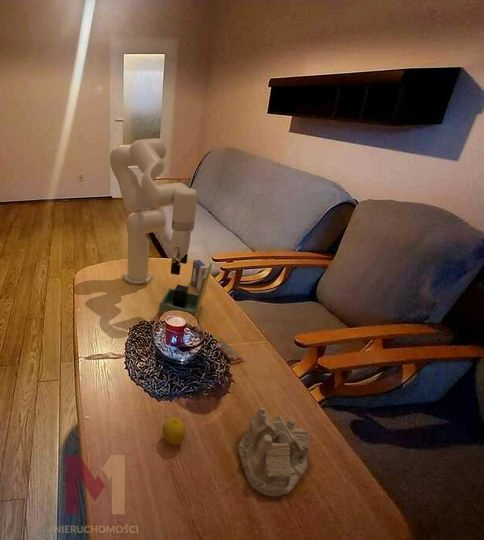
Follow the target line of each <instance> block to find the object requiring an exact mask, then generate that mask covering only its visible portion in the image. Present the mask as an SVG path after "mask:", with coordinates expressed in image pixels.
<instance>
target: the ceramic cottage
mask: <svg viewBox="0 0 484 540" xmlns="http://www.w3.org/2000/svg"><path fill="white" fill-rule="evenodd" d="M295 424H296V420H295V419H294V418H289V419H288V421H286V420H285V418H284V417H283V416H282V415H280V414H279V415H276V417H274V418H273V419H270V418H269V417H268V415H267V414H266V408H265V407H264V406H261V407H259V409H258V411H257V412H255V413H254V414H253V415H251V416H249V427H248V426H247V428H246V429H247V430H245V434H244V435H243V436H242V438H241V440H240V441H239V443H238V446H237V453H238V455H239V456H238V457H239V459H240V462H241V465H242V469H243V471H244V475H245V477H246V480H247V482H248V483H249V485H250V486H251V487H252V488H253V489H254V490H256V491H257V492H258V493H260V494H262V495H263V496H266V497H267V496H268V497H280V496H284V495H288V494H290V493H291V492H292V490H293V489H294V488H295V486H296V484H297V483H298V482H299V480H300V478H301V477H302V476H303V475H304V473H305V472H306V471H307V469H308V457H307V456H306V455H307V454H308V452H309V449H310V448H311V443H310V442H311V439H310V433H309V431H308V430H307V429H303V428H302V427H300V428H299V427H295Z"/></svg>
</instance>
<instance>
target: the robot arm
mask: <svg viewBox="0 0 484 540" xmlns="http://www.w3.org/2000/svg"><path fill="white" fill-rule="evenodd" d="M166 154H167V146H166V143H165V142H164V140H162V139H161V138H158V137H154V138H153V137H152V138H144V139H142V138H141V139H138V140H135V141H133V142H132V143H131V144H123V145H118V146H116V147H113V148H112V150H111V151H110V154H109V165H110V168H111V171H112V173H113V175H114V177H115V178H116V181H117V183H118V186H119V190H120V194H121V197H122V201H123V204H124V207H125V208H126V210H127V211H138V212H134V213H133V212H132V213H131V214H129V215H128V216H127V217H126V220H125V225H126V231H127V268H126V269H127V271H126V272H125V273H124V274H123V279H124V281H126V282H127V283H130V284H133V285H143V284H145V283H148V282H150V280H151V279H152V274H151V273H150V272H149V266H150V264H149V261H150V248H151V247H150V245H151V244H150V240H149V238H148V237H146V235H147V234H150V233H155V232H160V231H163V230H164V229H165V228H166V226H167V215H166V213H165V208H164V207H169V206H170V207H171V206H172V207H173V208H172V218H171V230H172V233H171V239H170V247H169V257H170V258H171V262H170V263H171V264H170V274H171V275H175V276H180V274H181V266H182V265H181V264H185V265H187V263H188V255H189V254H188V253H189V250H190V245H191V234H192V232H193V231H194V229H195V222H196V221H195V220H196V212H197V202H198V191H197V190H196V189H195V188H191V187H188V186H187V185H186V184H185V183H184V182H172V183H165V184H159V185H157V184H156V183H155V181H154V180H156V179H157V178H158V177H159V176H160V175H162V173H163V171H164V169H165V163H164V161H163V159H164V158H165V157H166ZM132 166H137V167H138V169H139V170H140V172H141V173H142V176H141V182H139V178H138V176H137V174H136V173H135V172H134V171H133V170H132V169H131V168H129V167H132ZM140 183H141V184H140ZM145 209H147V210H145ZM139 210H143V211H139Z"/></svg>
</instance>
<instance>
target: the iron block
mask: <svg viewBox="0 0 484 540" xmlns="http://www.w3.org/2000/svg"><path fill="white" fill-rule="evenodd" d="M173 289H174V297H173V306H176V307H180V308H184V309H186V306H187V298H188V292H189V289H190V287H189V286H188V285H183V284H176V285H175V288H173Z"/></svg>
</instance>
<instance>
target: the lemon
mask: <svg viewBox="0 0 484 540" xmlns="http://www.w3.org/2000/svg"><path fill="white" fill-rule="evenodd" d="M162 436H163V439H164V440H165V442H166V443H167V444H169V445H172V446H178V445H180V444H182V443H183V441H184V440H185V438H186V426H185V424H184V422H183V420H182V419H180V418H178V417H175V416H171V417H169V418H167V419H166V420H165V421H164V423H163V425H162Z"/></svg>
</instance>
